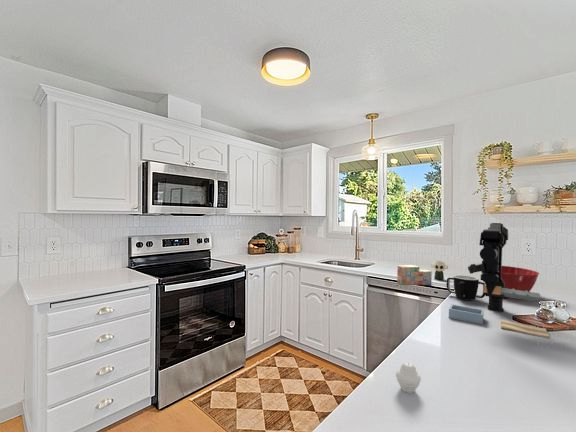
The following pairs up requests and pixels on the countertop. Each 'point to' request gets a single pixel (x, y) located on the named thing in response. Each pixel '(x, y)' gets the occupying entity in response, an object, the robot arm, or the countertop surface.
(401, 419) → the countertop surface
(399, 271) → the stack of blocks
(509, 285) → the mixing bowl
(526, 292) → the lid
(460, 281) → the mug
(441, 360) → the countertop surface
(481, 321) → the tub
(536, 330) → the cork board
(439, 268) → the big eared figurine
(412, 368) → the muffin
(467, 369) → the countertop surface
